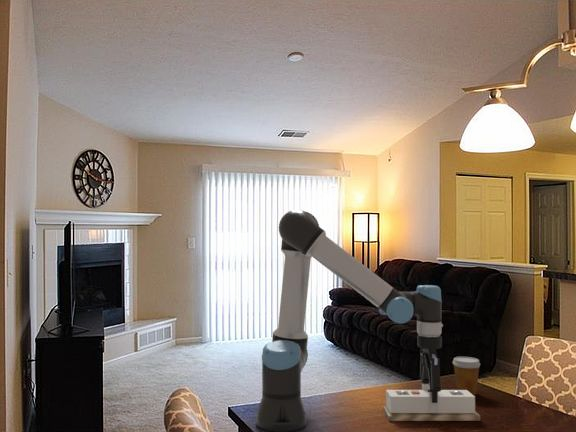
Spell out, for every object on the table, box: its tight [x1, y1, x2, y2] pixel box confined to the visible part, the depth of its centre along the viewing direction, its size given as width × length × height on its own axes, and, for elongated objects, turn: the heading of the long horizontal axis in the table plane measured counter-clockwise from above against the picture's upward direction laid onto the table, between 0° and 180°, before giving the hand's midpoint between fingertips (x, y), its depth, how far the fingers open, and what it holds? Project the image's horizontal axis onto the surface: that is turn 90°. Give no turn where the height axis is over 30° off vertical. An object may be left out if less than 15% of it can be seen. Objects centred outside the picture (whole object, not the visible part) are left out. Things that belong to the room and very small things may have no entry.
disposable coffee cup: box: [452, 356, 481, 396], centre depth 184 cm, size 10×10×12 cm
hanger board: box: [382, 405, 481, 422], centre depth 160 cm, size 28×9×2 cm, turn 91°
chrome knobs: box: [400, 391, 460, 395], centre depth 160 cm, size 19×2×7 cm, turn 91°
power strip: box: [385, 389, 476, 413], centre depth 160 cm, size 26×7×6 cm, turn 90°
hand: (430, 408), depth 160 cm, fingers closed on power strip, 7 cm apart
